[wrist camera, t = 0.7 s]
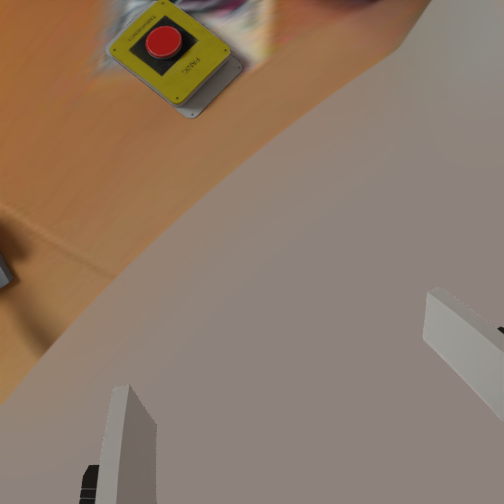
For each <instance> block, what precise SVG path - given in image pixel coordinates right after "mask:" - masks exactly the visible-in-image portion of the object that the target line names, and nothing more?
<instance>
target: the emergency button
mask: <svg viewBox="0 0 504 504" xmlns="http://www.w3.org/2000/svg"><path fill="white" fill-rule="evenodd" d="M105 49H106V53H107V55H108V56H110V57H111V58H112V59H114V60H115V61H116V62H118V63H119V64H120V65H121V66H123V67H124V68H125V69H127V70H128V71H129V72H130V73H132V74H133V75H134V76H136V77H137V78H138V79H139V80H141V81H142V82H143V83H144V84H146V85H147V86H148V87H149V88H151V89H152V90H153V91H154V92H156V93H157V94H158V95H159V96H161V97H162V98H163V99H164V100H165V101H167V102H168V103H169V104H170V105H172V106H173V107H174V108H175V109H176V110H178V111H179V112H180V113H181V114H182V115H184V116H185V117H187V118H195V117H196V116H198V115H199V114H200V112H201V111H202V110H203V109H204V108H205V107H206V106H207V105H208V104H209V103H210V102H211V101H212V100H213V99H214V98H215V97H216V96H217V95H218V94H219V93H220V92H221V91H222V90H223V89H224V88H225V87H226V86H227V85H228V84H229V83H230V82H231V81H232V80H233V79H234V78H235V77H236V76H237V75H238V74H239V73H240V72H241V71H242V64H241V63H240V61H239V60H238V59H236V58H235V57H234V56H233V55H232V54H231V50H230V48H229V46H228V45H227V44H225V43H224V42H223V41H222V40H220V39H219V38H218V37H217V36H215V35H214V34H213V33H212V32H210V31H209V30H208V29H207V28H205V27H204V26H203V25H201V24H200V23H199V22H197V21H196V20H195V19H193V18H192V17H191V16H189V15H188V14H187V13H185V12H184V11H182V10H181V9H180V8H178V7H177V6H175V5H174V4H173V3H171V2H170V1H168V0H159V1H153V2H151V3H150V4H149V5H148V6H147V7H145V8H144V9H143V10H142V11H141V12H140V13H139V14H138V15H137V16H136V17H135V18H133V19H132V20H131V21H130V22H129V23H128V24H127V25H126V26H125V27H124V28H123V29H122V30H121V31H120V32H119V33H118V34H117V35H116V36H115V37H114V38H113V39H112V40H111V41H110V42H109V44H108V45H107V46H106V48H105Z"/></svg>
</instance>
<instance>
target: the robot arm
mask: <svg viewBox="0 0 504 504" xmlns="http://www.w3.org/2000/svg"><path fill="white" fill-rule="evenodd" d="M423 340H424V341H425V342H427V344H428V345H430V346H431V347H432V348H433V349H434V350H435V351H436V352H437V353H438V354H439V355H440V356H441V357H442V358H443V359H444V360H445V361H446V362H447V363H448V364H449V365H450V366H451V367H452V368H453V369H454V370H455V372H456V373H457V374H458V375H460V377H462V379H463V380H464V381H465V382H466V383H467V384H468V385H469V386H470V387H471V388H472V389H473V390H474V391H475V392H476V393H477V394H478V396H479V397H480V398H481V399H482V400H483V401H484V402H485V403H486V404H487V405H488V406H489V407H490V408H491V409H492V410H493V412H494V413H495V414H496V415H497V416H498V417H499V418H500V419H501V420H502V422H503V423H504V328H503V327H499V328H498V329H496V328H495V327H494V326H493V325H491V324H490V323H489V322H487V321H486V320H485V319H483V318H482V317H481V316H480V315H478V314H477V313H476V312H474V311H473V310H472V309H470V308H469V307H468V306H466V305H465V304H463V303H462V302H461V301H459V300H458V299H457V298H455V297H454V296H452V295H451V294H450V293H448V292H447V291H446V290H444V289H443V288H441V287H440V286H439V287H437V288H434V289H432V290H430V291H428V293H427V303H426V313H425V322H424V331H423ZM156 430H157V424H156V423H155V422H154V420H153V419H152V417H151V416H150V414H149V413H148V412H147V410H146V409H145V407H144V406H143V404H142V403H141V401H140V400H139V398H138V397H137V395H136V394H135V392H134V391H133V389H132V388H131V386H130V385H124V386H118V387H113V392H112V397H111V401H110V406H109V411H108V417H107V422H106V428H105V434H104V439H103V446H102V452H101V459H100V465H89V466H88V468H87V470H86V472H85V474H84V475H83V480H82V487H81V488H82V490H81V494H80V498H81V500H80V502H79V504H156V432H157V431H156Z"/></svg>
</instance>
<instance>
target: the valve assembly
mask: <svg viewBox="0 0 504 504" xmlns="http://www.w3.org/2000/svg"><path fill="white" fill-rule="evenodd" d="M12 279H14V277H13V276H12V274H11V272H10V270H9V268H8V267H7V265H6V263H5V261H4V259H3V257H2V255H1V253H0V288H1V287H3V286H5V285H6V284H8V283H9V282H10V281H11V280H12Z"/></svg>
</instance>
